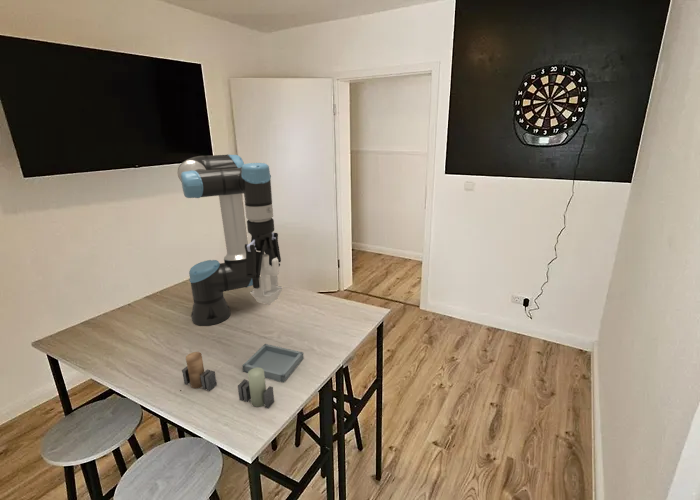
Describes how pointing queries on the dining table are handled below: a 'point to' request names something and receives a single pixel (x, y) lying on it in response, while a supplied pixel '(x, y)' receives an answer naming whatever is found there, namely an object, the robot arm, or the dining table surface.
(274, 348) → the tray
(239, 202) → the robot arm
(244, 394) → the clip posts
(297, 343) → the dining table surface
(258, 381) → the green dowel
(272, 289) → the figurine
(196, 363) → the brown rounded cylinder
